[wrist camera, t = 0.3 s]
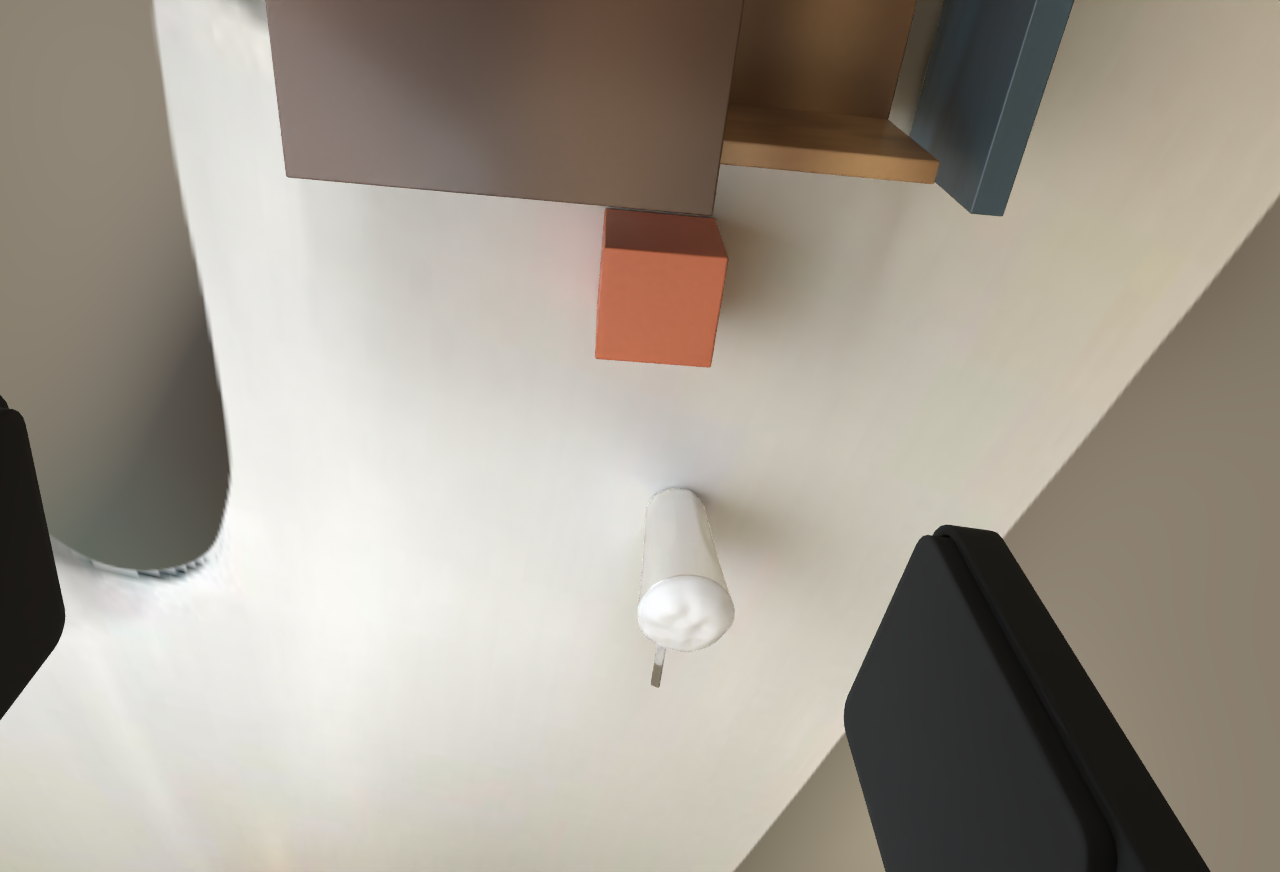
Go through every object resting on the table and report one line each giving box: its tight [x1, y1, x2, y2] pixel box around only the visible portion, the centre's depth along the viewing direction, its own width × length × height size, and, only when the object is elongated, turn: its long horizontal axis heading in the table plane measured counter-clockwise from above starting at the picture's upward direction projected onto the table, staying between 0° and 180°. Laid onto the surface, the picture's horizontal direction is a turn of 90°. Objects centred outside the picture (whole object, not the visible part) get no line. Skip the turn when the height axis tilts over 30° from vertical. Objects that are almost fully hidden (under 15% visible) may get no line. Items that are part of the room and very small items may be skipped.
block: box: [595, 209, 728, 367], centre depth 37 cm, size 5×5×5 cm
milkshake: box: [637, 488, 735, 688], centre depth 43 cm, size 5×5×10 cm
